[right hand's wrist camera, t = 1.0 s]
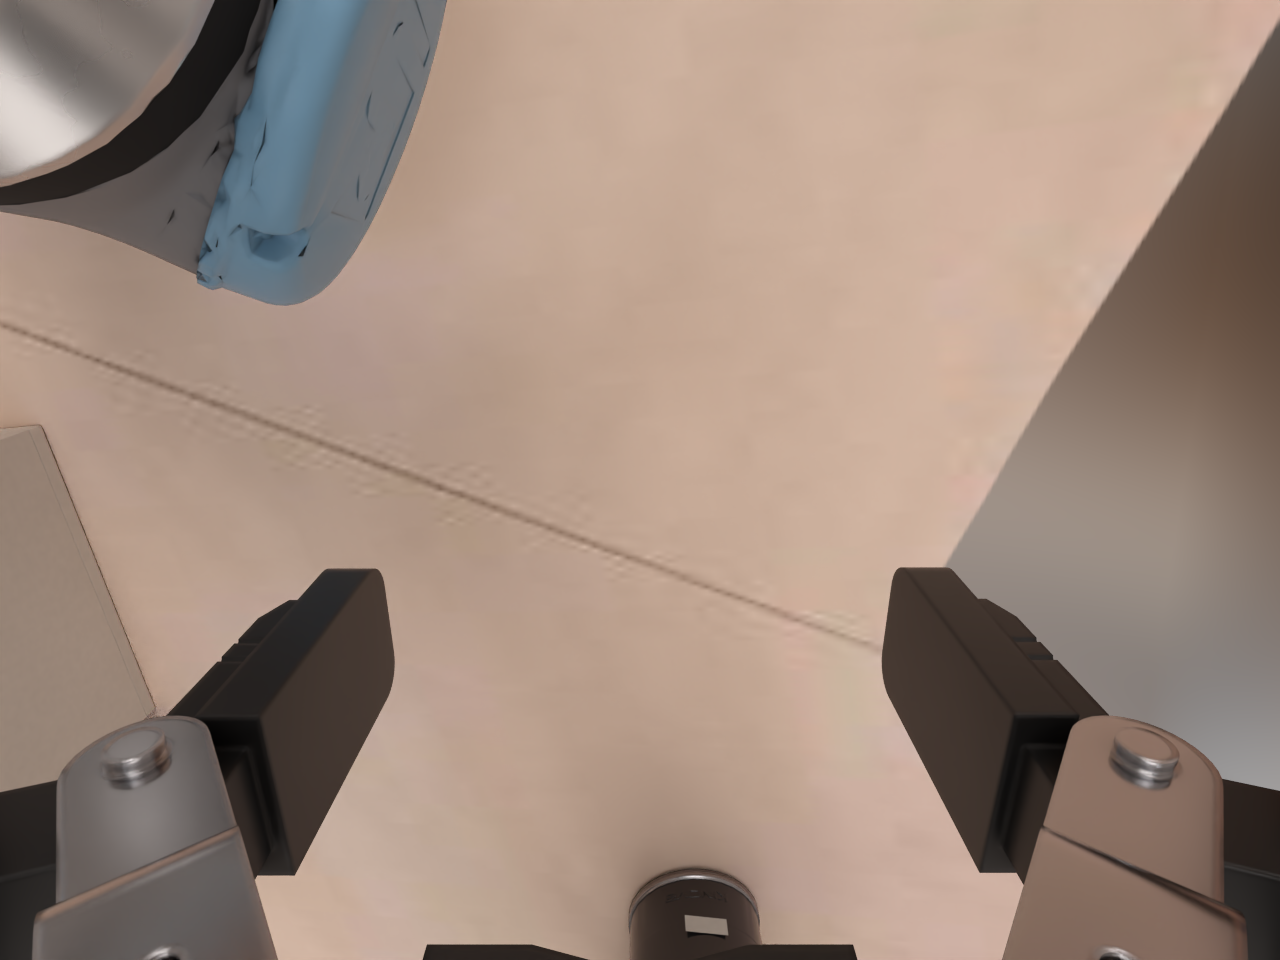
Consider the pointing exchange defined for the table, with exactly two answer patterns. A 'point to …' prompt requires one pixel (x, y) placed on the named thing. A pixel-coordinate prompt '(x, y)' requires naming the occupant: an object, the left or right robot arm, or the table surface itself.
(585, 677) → the table surface
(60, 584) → the tall grey storage box
